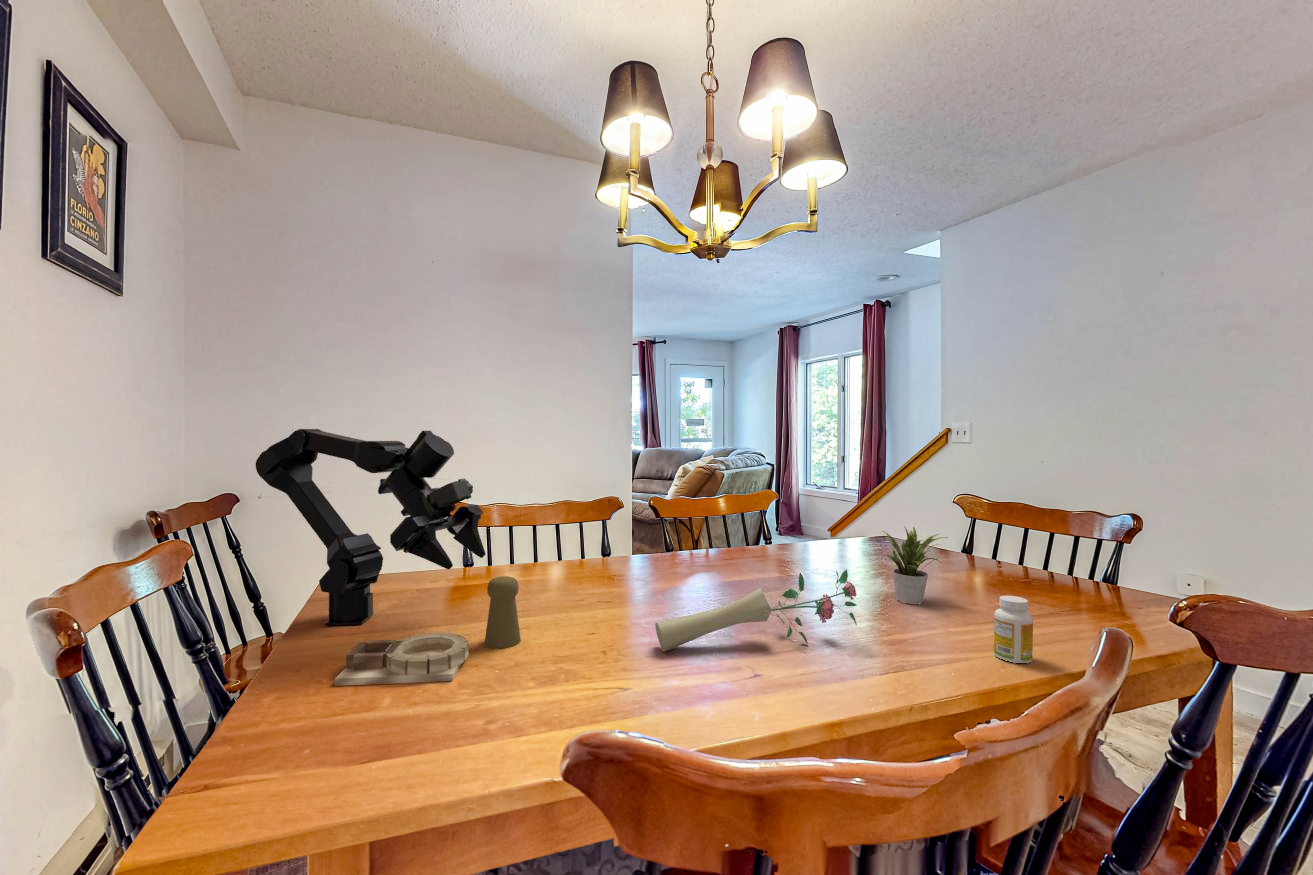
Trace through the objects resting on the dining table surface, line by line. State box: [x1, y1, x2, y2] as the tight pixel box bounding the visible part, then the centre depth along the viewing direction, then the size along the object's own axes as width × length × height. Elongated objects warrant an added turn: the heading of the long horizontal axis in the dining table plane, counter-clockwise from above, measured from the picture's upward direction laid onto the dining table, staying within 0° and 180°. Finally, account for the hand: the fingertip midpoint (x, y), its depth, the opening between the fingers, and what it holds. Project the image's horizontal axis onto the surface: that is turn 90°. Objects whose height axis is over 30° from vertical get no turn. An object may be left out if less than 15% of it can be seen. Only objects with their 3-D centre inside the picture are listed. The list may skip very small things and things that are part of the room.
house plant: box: [880, 525, 948, 605], centre depth 124 cm, size 14×14×16 cm
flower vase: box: [654, 568, 858, 653], centre depth 100 cm, size 12×12×35 cm
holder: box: [334, 631, 470, 687], centre depth 89 cm, size 17×12×3 cm
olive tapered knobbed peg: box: [483, 575, 522, 649], centre depth 99 cm, size 6×6×11 cm
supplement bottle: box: [993, 595, 1034, 664], centre depth 95 cm, size 5×5×10 cm
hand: (467, 561), depth 101 cm, fingers open, 9 cm apart
